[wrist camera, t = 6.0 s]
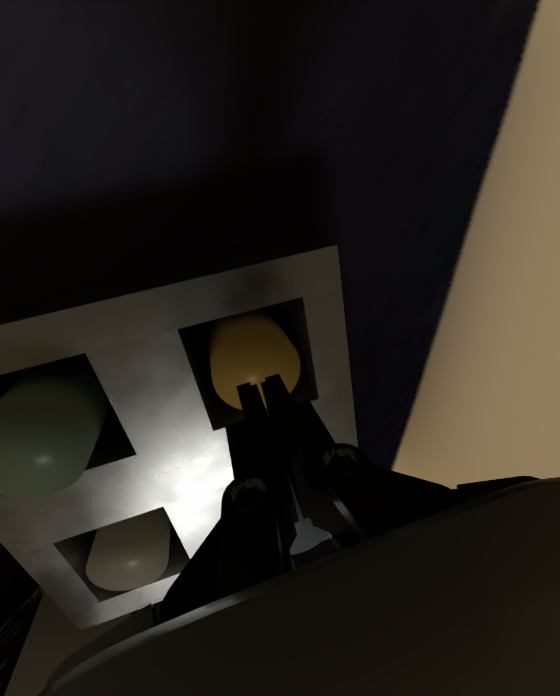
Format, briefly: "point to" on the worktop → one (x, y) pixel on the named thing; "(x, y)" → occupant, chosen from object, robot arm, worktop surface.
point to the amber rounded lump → (250, 354)
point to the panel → (163, 406)
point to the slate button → (305, 533)
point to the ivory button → (130, 551)
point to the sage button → (49, 430)
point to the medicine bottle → (40, 644)
